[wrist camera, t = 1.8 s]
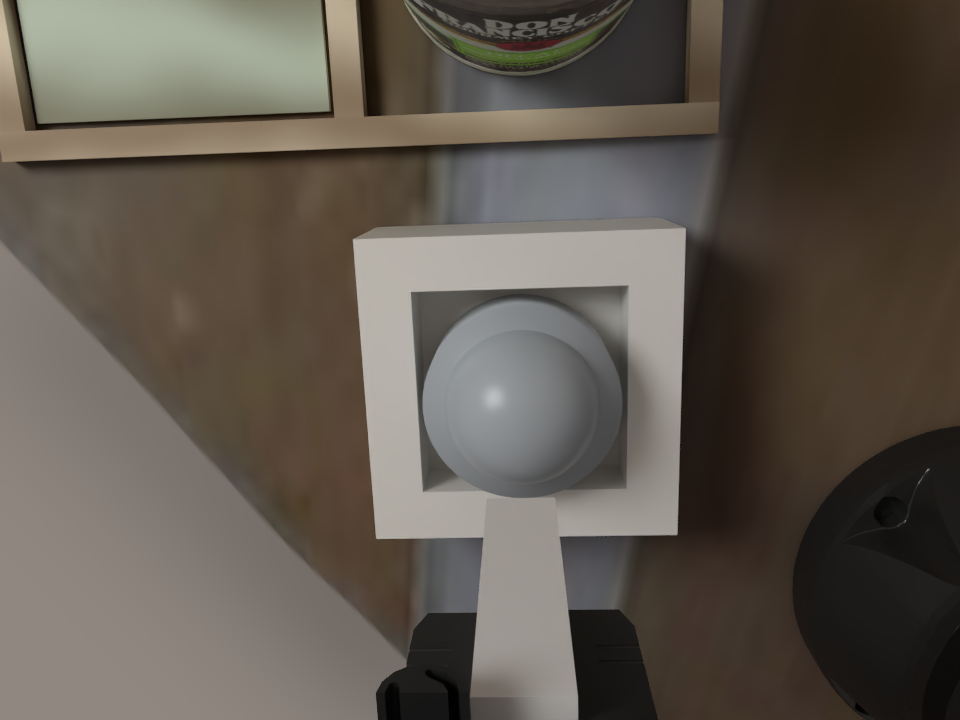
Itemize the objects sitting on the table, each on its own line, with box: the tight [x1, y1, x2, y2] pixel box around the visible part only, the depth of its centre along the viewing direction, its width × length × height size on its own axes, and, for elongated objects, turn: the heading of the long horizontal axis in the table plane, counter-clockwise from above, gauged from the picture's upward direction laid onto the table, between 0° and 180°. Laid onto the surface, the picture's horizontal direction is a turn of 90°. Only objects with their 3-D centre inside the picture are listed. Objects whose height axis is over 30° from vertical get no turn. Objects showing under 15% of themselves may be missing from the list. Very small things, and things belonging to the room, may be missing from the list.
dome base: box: [353, 217, 686, 539], centre depth 32 cm, size 12×12×5 cm
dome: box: [422, 294, 623, 498], centre depth 28 cm, size 7×7×6 cm
